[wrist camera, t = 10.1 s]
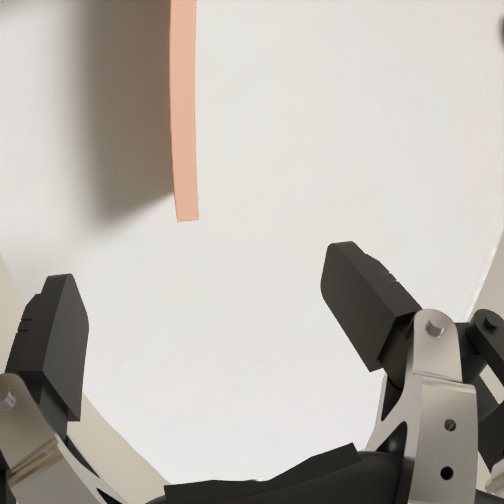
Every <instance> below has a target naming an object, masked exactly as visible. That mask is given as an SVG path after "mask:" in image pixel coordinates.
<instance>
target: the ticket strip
mask: <svg viewBox="0 0 504 504" xmlns="http://www.w3.org/2000/svg"><path fill="white" fill-rule="evenodd" d="M196 4H197V0H170V18H169V109H170V136H171V156H172V172H173V186H174V197H175V206H176V214H177V222H183V221H192V220H199V214H198V193H197V168H196V132H195V37H196Z"/></svg>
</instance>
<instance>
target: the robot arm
mask: <svg viewBox="0 0 504 504" xmlns="http://www.w3.org/2000/svg"><path fill="white" fill-rule="evenodd" d="M321 293H322V296H323V299H324V301H325V302H326V304H327V305H328V307H329V308H330V310H331V311H332V313H333V315H334V316H335V318H336V319H337V321H338V322H339V324H340V325H341V327H342V329H343V330H344V332H345V333H346V335H347V337H348V338H349V340H350V341H351V343H352V344H353V346H354V348H355V349H356V351H357V352H358V354H359V356H360V357H361V359H362V360H363V362H364V364H365V365H366V367H367V369H368V370H369V372H372V371H375V370H378V369H381V368H384V370H385V372H386V373H385V375H384V377H383V381H382V388H381V394H380V400H379V406H378V412H377V417H376V422H375V427H374V430H373V432H372V435H371V437H370V439H369V441H368V443H367V446H366V449H365V451H357V450H356V448H355V446H354V444H353V442H352V443H350V444H347V445H345V446H342V447H339V448H336V449H333V450H331V451H328V452H325V453H322V454H319V455H316V456H312V457H310V458H308V459H307V460H305V461H303V462H302V463H300V464H298V465H296V466H295V467H293V468H291V469H289V470H287V471H286V472H284V473H282V474H280V475H278V476H276V477H274V478H273V479H270V480H267V481H223V480H209V481H202V482H194V483H186V484H176V485H165V486H164V491H165V495H163V496H161V497H158V498H155V499H153V500H151V501H149V502H147V503H146V504H504V401H503V402H502V403H501V404H500V405H499V404H498V403H497V401H496V400H495V398H494V396H493V395H492V393H491V392H490V390H489V389H488V387H487V386H486V384H485V383H484V382H483V380H482V379H481V377H480V376H479V374H480V373H481V372H482V371H483V369H484V368H485V367H486V365H487V364H488V365H489V366H490V368H491V369H492V371H493V372H494V373H495V375H496V376H497V378H498V379H499V380H500V382H501V383H502V385H503V386H504V320H503V319H502V318H501V317H500V316H499V315H498V314H496V313H494V312H492V311H490V310H487V309H480V310H477V311H476V312H475V314H474V315H473V317H472V319H471V321H470V322H469V323H468V322H467V323H454V322H453V321H452V320H451V318H449V317H448V316H447V315H446V314H444V313H442V312H440V311H438V310H435V309H422V308H421V306H420V305H419V304H418V303H417V302H416V301H415V300H414V298H413V297H412V296H411V295H410V294H409V293H408V292H407V291H406V290H405V288H404V287H403V286H402V285H401V284H400V283H399V282H397V281H396V279H395V277H394V276H393V275H392V274H389V271H388V270H387V269H386V268H385V267H384V266H383V265H382V264H381V263H380V262H379V261H378V260H376V259H374V258H373V257H371V256H369V255H368V254H365V253H364V252H363V251H362V250H361V249H360V248H359V247H358V246H357V245H356V244H355V243H354V242H352V241H348V242H340V243H332V244H330V245H329V246H328V248H327V252H326V258H325V263H324V268H323V273H322V278H321ZM88 333H89V322H88V316H87V312H86V310H85V307H84V304H83V302H82V299H81V296H80V294H79V291H78V288H77V285H76V282H75V279H74V277H73V275H72V274H61V275H53V276H48V277H47V279H46V281H45V284H44V286H43V289H42V292H41V294H35V296H34V297H33V298H32V299H31V300H30V302H29V303H28V304H27V305H26V307H25V310H24V313H23V315H22V318H21V322H20V324H19V327H18V333H16V336H15V339H14V342H13V345H12V348H11V352H10V355H9V358H8V362H7V366H6V369H5V373H3V374H0V504H16V500H17V502H18V503H19V504H129V503H128V502H127V501H126V500H125V499H124V498H123V497H122V496H121V495H119V493H118V492H116V491H115V490H114V489H113V488H112V487H111V486H110V485H109V484H108V483H107V482H106V481H105V480H104V479H103V478H102V476H101V475H100V474H99V473H98V472H97V470H96V469H95V468H94V467H93V466H92V465H91V463H90V462H89V461H88V459H87V458H86V457H85V456H84V454H83V453H82V452H81V450H80V449H79V448H78V447H77V445H76V444H75V442H73V440H72V438H71V437H70V436H69V434H68V433H67V421H80V414H81V398H82V385H83V374H84V364H85V356H86V348H87V340H88ZM478 451H479V453H480V454H481V456H482V458H483V460H484V462H485V464H486V466H487V468H488V469H489V471H490V473H491V477H490V478H489V479H488V480H487V481H486V483H485V489H486V491H487V492H488V493H486V492H483V491H480V490H477V489H476V477H477V459H478ZM489 493H495V494H494V495H492V494H489Z"/></svg>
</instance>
